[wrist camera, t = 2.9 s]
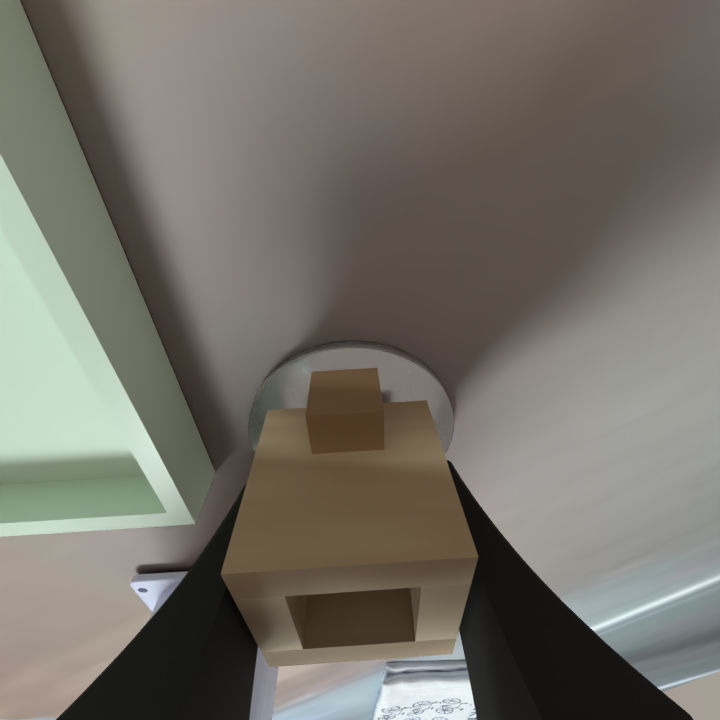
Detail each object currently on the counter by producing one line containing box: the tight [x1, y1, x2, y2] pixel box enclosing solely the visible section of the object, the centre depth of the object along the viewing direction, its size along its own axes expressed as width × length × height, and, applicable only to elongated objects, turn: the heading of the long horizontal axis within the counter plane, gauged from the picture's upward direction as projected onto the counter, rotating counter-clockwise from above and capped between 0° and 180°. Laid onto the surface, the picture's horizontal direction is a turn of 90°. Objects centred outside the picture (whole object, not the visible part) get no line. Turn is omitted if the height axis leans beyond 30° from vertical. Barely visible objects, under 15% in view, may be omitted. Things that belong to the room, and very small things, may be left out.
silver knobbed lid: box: [249, 341, 454, 454], centre depth 12 cm, size 8×8×4 cm
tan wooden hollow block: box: [221, 368, 478, 667], centre depth 10 cm, size 7×5×5 cm
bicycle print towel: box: [373, 660, 477, 720], centre depth 34 cm, size 19×20×2 cm
